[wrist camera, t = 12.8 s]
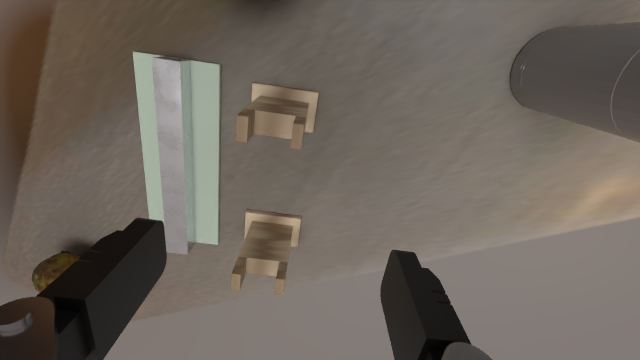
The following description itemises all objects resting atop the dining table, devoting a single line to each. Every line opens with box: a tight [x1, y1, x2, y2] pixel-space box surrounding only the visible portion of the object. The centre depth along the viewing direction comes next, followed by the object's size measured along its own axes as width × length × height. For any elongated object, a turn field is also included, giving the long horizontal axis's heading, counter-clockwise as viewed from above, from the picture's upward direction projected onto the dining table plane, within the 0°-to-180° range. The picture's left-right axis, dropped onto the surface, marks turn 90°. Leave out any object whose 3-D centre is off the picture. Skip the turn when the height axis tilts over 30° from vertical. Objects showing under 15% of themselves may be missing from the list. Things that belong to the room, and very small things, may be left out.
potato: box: [32, 251, 81, 293], centre depth 45 cm, size 8×13×8 cm, turn 37°
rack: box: [231, 83, 319, 296], centre depth 37 cm, size 8×23×12 cm, turn 172°
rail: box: [152, 56, 196, 255], centre depth 40 cm, size 3×26×3 cm, turn 172°
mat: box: [133, 51, 221, 245], centre depth 41 cm, size 10×26×1 cm, turn 172°
